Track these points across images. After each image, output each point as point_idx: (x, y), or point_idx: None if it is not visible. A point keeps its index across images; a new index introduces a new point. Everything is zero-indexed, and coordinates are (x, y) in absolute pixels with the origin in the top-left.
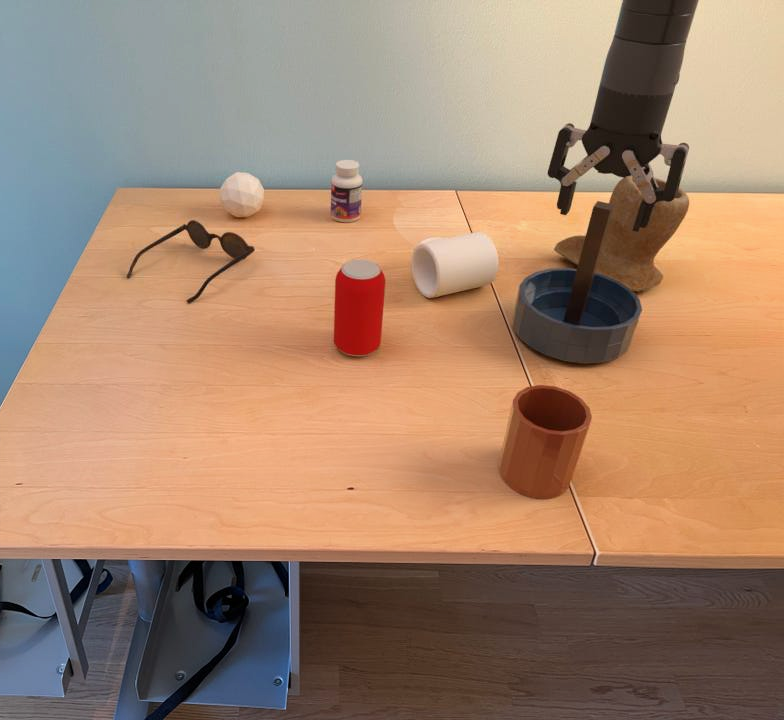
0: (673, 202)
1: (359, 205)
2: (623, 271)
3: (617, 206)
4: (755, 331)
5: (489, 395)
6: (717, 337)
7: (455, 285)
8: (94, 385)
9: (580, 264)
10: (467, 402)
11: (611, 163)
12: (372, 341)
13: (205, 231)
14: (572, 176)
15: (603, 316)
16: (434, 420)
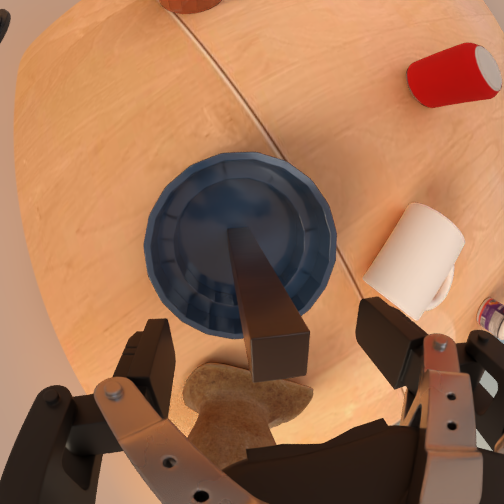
0: None
1: (486, 319)
2: (222, 386)
3: None
4: (80, 358)
5: (276, 58)
6: (97, 331)
7: (400, 224)
8: (478, 13)
9: (263, 260)
10: (291, 38)
11: (356, 479)
12: (415, 66)
13: None
14: (441, 360)
15: (209, 289)
16: (305, 7)
